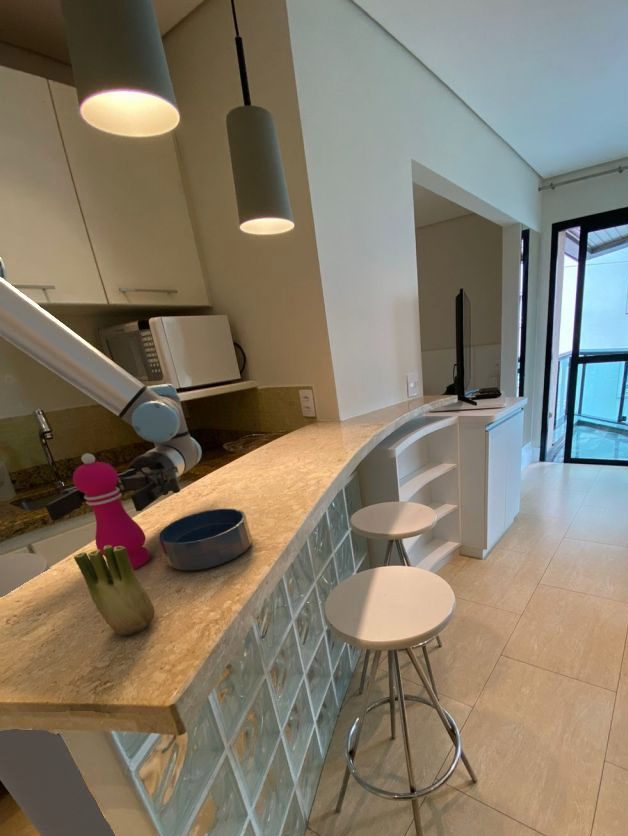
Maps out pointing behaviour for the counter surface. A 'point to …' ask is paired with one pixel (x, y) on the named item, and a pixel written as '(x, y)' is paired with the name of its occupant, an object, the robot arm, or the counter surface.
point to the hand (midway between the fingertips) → (93, 508)
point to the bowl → (205, 539)
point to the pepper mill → (110, 510)
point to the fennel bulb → (116, 589)
